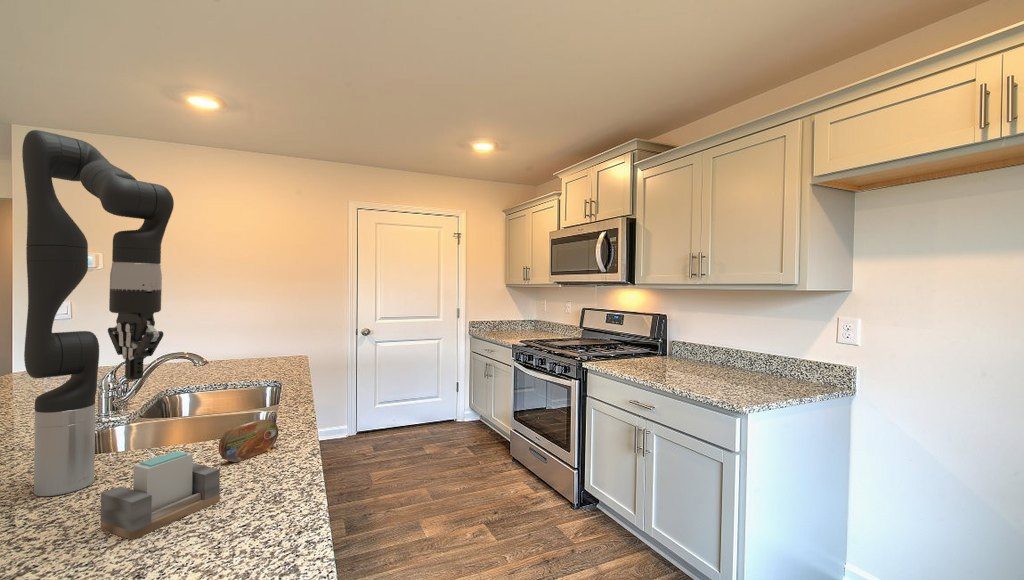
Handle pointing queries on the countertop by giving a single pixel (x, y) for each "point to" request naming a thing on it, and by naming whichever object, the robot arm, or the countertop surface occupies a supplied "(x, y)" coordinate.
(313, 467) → the countertop surface
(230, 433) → the tin
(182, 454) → the block
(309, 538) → the countertop surface
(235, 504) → the countertop surface
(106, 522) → the rack
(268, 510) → the countertop surface
